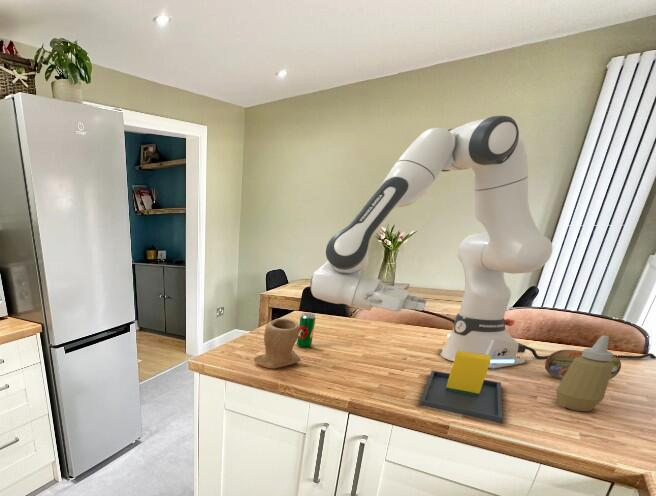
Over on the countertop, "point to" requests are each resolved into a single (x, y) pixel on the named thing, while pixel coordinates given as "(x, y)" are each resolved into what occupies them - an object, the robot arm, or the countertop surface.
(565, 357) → the tin
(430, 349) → the countertop surface
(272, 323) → the stone cup
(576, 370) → the squeeze bottle
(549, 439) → the countertop surface
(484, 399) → the tray
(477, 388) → the sponge
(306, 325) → the soda can
